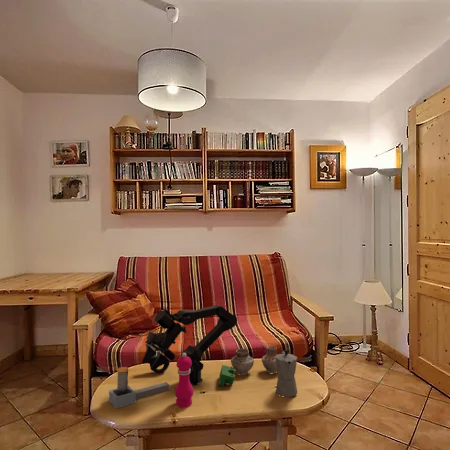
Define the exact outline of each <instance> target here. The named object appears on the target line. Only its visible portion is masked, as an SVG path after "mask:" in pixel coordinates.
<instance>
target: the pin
mask: <svg viewBox="0 0 450 450" xmlns="http://www.w3.org/2000/svg"><path fill="white" fill-rule="evenodd" d="M116 385H117V387H116V389H117V396H120V395H124V394H128V386H129V367H127V366H120V367H118V368H117V384H116Z"/></svg>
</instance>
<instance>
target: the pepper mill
mask: <svg viewBox="0 0 450 450" xmlns="http://www.w3.org/2000/svg"><path fill="white" fill-rule="evenodd" d="M182 353H183V352H182ZM182 353H181V355H182V357H181V356H180V357H178V358H177V360H176V367H177V374H178V378H179V379H178V382H177V384H176V387H175V389H174V390H175V391H174V396H175V397H176V399H175V406H177V407H178V408H188V407H190V406H192V404H193V398H192V397H193V395H194V389H193V384H191V383H190V380H189V374H190V370H191V369H190V367H191V365H192V361H191V359H190V358H189V357H187V356H186V353H183V354H182Z"/></svg>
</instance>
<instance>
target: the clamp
mask: <svg viewBox="0 0 450 450" xmlns="http://www.w3.org/2000/svg"><path fill="white" fill-rule="evenodd" d="M235 371H236V370H235V369H234V368H233V366H228V365H224V364H222V365H221V368H220V372H219V377H218V386H219V387H224V386H225V385H226V384H227V385H229V386H232V384H233V385H234V380H235V377H236V374H235V373H236V372H235Z"/></svg>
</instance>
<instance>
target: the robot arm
mask: <svg viewBox="0 0 450 450" xmlns="http://www.w3.org/2000/svg"><path fill="white" fill-rule="evenodd" d="M213 316H216V317H217V318H218V320H217V323H216V325H215V326H214V327H213V328H211V330H209V332H207V334H206V335H205V336H203V338H202V339H200V341H199V342H198V343H196V344H195V345H191V344H190V345H188V346H187V347H186V348H185V349H184V350H183V351H182V353H181V355H180V357H182V354H183V353H186V356H187V357H189V358H190V359H191V361H192V365H191V367H190V369H191V370H190V374H189V380H190V383H191V385H192V386H193V385H194V386H196V385H198V384H200V383H201V382H202V381H203V379H204V378H202V370H203V369H204V367H205V366H204V365H205V364H203V363H202V362H201V360H202V358H203V354H204V353H205V352H206V351H207V350H208V349H209V348H210V347H211V346H212V345H213V344H214V343H215V342H216V340H218V338H220V337H221V335H223V333H224V332H227V331H229V330H230V331H231V330H232V329H233V328H234V327H236V325H237V324H238V316H236V315H235V314H232V313H231V312H230V311H228V310H227V309H226V308H224V307H223V306H222V305H220V304H214V305H212V306H211V305H210V306H206V307H202V308H198V309H180V310H178V311H177V312H175V313H171V312H170V311H169V310H168V309H167V308H163V310H161V311H159V312H157V314H156V315H155V316H154V319H153V320H154V321H155V323H156V324H158V326H160V328H161V329H163V330H165V331H164V332H163V331H162V332H157V333H156V332H153V331H150V330H149V331H148V333H147V337H146V340H145V342H144V343H145V346H146V349H145V350H146V351H145V352H144V354H143V358H142V360H141V363H142V365H144V364H146V362H147V361H148V360H149V359H150V358H152V357H153V356H155V355H156V354H157V355H158V357H157V359H156V360H155V362H154V364H153V365H152V367H151V368H150V371H152V372H153V370H154V369H156V368H157V369H159V368H160V367H162V366H164V364H165V363H167V362H170V363H171V362H173V361H174V360H175V359H176V354H175V353H174V352H173V351H172V350H170V348H171V346H172V345H175V344H176V340H177V338H178V337H179V335H180V334H181V333H183V334H187V330H186V329H187V327H186V326H188V325H192V324H193V323H196V321H197V320H201V319H205V318H209V317H213ZM181 324H182V325H181ZM184 325H185V326H184ZM169 360H170V361H169Z"/></svg>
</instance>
